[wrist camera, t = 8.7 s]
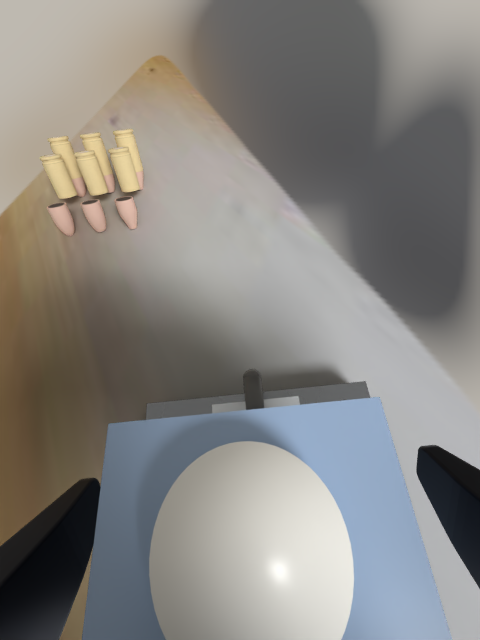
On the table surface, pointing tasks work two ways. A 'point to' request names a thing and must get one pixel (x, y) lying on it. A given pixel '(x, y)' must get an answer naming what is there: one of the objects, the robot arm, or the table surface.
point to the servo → (259, 528)
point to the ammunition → (93, 177)
